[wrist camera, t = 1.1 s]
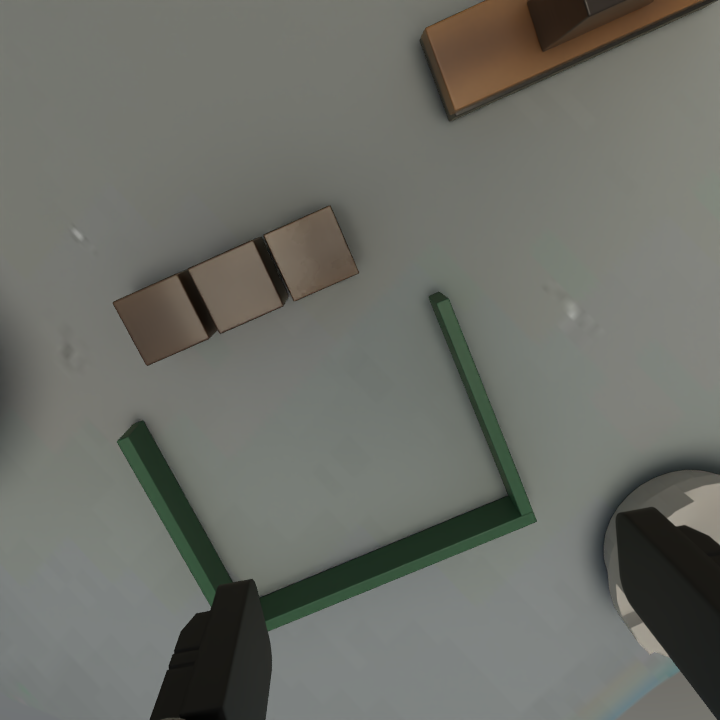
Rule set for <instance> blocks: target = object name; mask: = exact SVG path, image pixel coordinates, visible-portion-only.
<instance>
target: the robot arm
mask: <svg viewBox="0 0 720 720" xmlns="http://www.w3.org/2000/svg"><path fill="white" fill-rule="evenodd" d="M615 523H616V537H617V549H618V562H619V574H620V581H621V585H622V588H623V591H624V594H625V596H626V598H627V600H628V602H629V604H630V605H631V607H632V608H633V609H634V611H635V612H636V613H637V615H638V616H639V617H640V619H641V620H642V621H643V622H644V624H645V625H646V626H647V628H648V629H649V630H650V632H651V633H652V634H653V636H654V637H655V638H656V640H657V641H658V642H659V644H660V645H661V646H662V647H663V649H664V650H665V651H666V653H667V654H668V655H669V657H670V658H671V659H672V661H673V662H674V663H675V665H676V666H677V667H678V669H679V670H680V671H681V672H682V673H683V675H684V676H685V678H686V679H687V680H688V682H689V683H690V684H691V685H692V687H693V688H694V690H695V691H696V692H697V694H698V695H699V696H700V697H701V699H702V700H703V701H704V703H705V704H706V705H707V707H708V708H709V709H710V711H711V712H712V713H713V714H714V716H715V717H716V718H717V720H720V545H719V544H718V543H717V542H716V541H715V540H713V539H712V538H711V537H710V536H709V535H706V534H704V533H702V532H700V531H697V530H695V529H693V528H691V527H688V526H686V525H681V526H675V525H674V524H673V523H672V522H671V521H669V520H668V519H667V518H666V517H665V516H664V515H663V514H662V513H661V512H660V511H658V510H657V509H656V508H654V507H647V508H642V509H636V510H631V511H625V512H620V513H618V514H617V515H616V521H615ZM271 672H272V654H271V645H270V639H269V635H268V631H267V627H266V623H265V619H264V615H263V611H262V607H261V603H260V599H259V595H258V591H257V587H256V584H255V582H254V580H253V579H249V580H244V581H238V582H233V583H227V584H222V585H219V586H218V587H217V590H216V593H215V596H214V600H213V603H212V607H211V610H210V611H207V612H202V613H196V614H195V616H194V617H193V618H192V619H191V620H190V621H189V623H188V624H187V625H186V626H185V627H184V629H183V630H182V631H181V633H180V636H179V638H178V641H177V644H176V647H175V650H174V654H173V655H172V658H171V661H170V664H169V670H167V672H166V675H165V678H164V681H163V683H162V686H161V689H160V692H159V695H158V698H157V700H156V703H155V706H154V709H153V712H152V714H151V717H150V720H265V719H266V711H267V703H268V696H269V688H270V680H271Z"/></svg>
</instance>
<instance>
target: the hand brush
mask: <svg viewBox="0 0 720 720" xmlns="http://www.w3.org/2000/svg"><path fill="white" fill-rule="evenodd" d="M716 1H718V0H485V1H483V2H481V3H479V4H477V5H474V6H472V7H470V8H468V9H466V10H463V11H461V12H459V13H457V14H455V15H453V16H450V17H448V18H446V19H444V20H442V21H439V22H437V23H435V24H433V25H431V26H429V27H426V28H425V30H424V32H423V34H422V36H421V39H420V43H421V46H422V49H423V51H424V54H425V57H426V59H427V62H428V65H429V68H430V70H431V73H432V76H433V78H434V81H435V84H436V87H437V89H438V92H439V95H440V97H441V100H442V103H443V106H444V108H445V111H446V114H447V116H448V119H449V121H453V120H455V119H457V118H460V117H462V116H464V115H466V114H469V113H471V112H473V111H475V110H477V109H480V108H482V107H484V106H486V105H489V104H491V103H493V102H495V101H498V100H500V99H502V98H504V97H506V96H509V95H511V94H513V93H515V92H518V91H520V90H522V89H524V88H527V87H529V86H531V85H533V84H535V83H538V82H540V81H542V80H544V79H547V78H549V77H551V76H553V75H555V74H558V73H560V72H562V71H564V70H567V69H569V68H571V67H573V66H576V65H578V64H580V63H582V62H584V61H587V60H589V59H591V58H593V57H596V56H598V55H600V54H602V53H605V52H607V51H609V50H611V49H613V48H616V47H618V46H620V45H622V44H625V43H627V42H629V41H631V40H633V39H636V38H638V37H640V36H642V35H645V34H647V33H649V32H651V31H654V30H656V29H658V28H660V27H662V26H665V25H667V24H669V23H671V22H674V21H676V20H678V19H680V18H683V17H685V16H687V15H689V14H691V13H694V12H696V11H698V10H700V9H703V8H705V7H707V6H708V5H710V4H712V3H714V2H716Z"/></svg>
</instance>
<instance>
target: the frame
mask: <svg viewBox="0 0 720 720" xmlns="http://www.w3.org/2000/svg"><path fill="white" fill-rule="evenodd" d="M429 300H430V302H431V305H432V307H433V310H434V312H435V315H436V317H437V320H438V322H439V325H440V327H441V330H442V332H443V334H444V337H445V339H446V342H447V344H448V347H449V349H450V352H451V354H452V357H453V359H454V362H455V364H456V367H457V369H458V372H459V374H460V377H461V379H462V381H463V384H464V386H465V389H466V391H467V394H468V396H469V399H470V401H471V404H472V406H473V409H474V411H475V414H476V416H477V419H478V421H479V424H480V426H481V428H482V431H483V433H484V436H485V438H486V441H487V443H488V446H489V448H490V451H491V453H492V456H493V458H494V461H495V463H496V466H497V468H498V470H499V473H500V475H501V478H502V480H503V483H504V485H505V488H506V490H507V493H508V495H509V496H507V497H504V498H502V499H499V500H497V501H495V502H492V503H490V504H487V505H485V506H482V507H480V508H478V509H475V510H473V511H470V512H468V513H465V514H463V515H461V516H458V517H456V518H453V519H451V520H448V521H446V522H444V523H441V524H439V525H436V526H434V527H431V528H429V529H427V530H424V531H422V532H419V533H417V534H414V535H412V536H410V537H407V538H405V539H402V540H400V541H397V542H395V543H393V544H390V545H388V546H385V547H383V548H380V549H378V550H376V551H373V552H371V553H368V554H366V555H363V556H361V557H359V558H356V559H354V560H351V561H349V562H346V563H344V564H342V565H339V566H337V567H334V568H332V569H329V570H327V571H324V572H322V573H320V574H317V575H315V576H312V577H310V578H307V579H305V580H303V581H300V582H298V583H295V584H293V585H290V586H288V587H286V588H283V589H281V590H278V591H276V592H273V593H271V594H269V595H266V596H264V597H261V598H259V599H260V603H261V607H262V611H263V615H264V619H265V623H266V627H267V631H270V630H273V629H275V628H277V627H280V626H282V625H285V624H287V623H290V622H292V621H295V620H297V619H300V618H302V617H304V616H307V615H309V614H312V613H314V612H317V611H319V610H322V609H324V608H327V607H329V606H331V605H334V604H336V603H339V602H341V601H344V600H346V599H349V598H351V597H353V596H356V595H358V594H361V593H363V592H366V591H368V590H371V589H373V588H376V587H378V586H380V585H383V584H385V583H388V582H390V581H393V580H395V579H398V578H400V577H402V576H405V575H407V574H410V573H412V572H415V571H417V570H420V569H422V568H425V567H427V566H429V565H432V564H434V563H437V562H439V561H442V560H444V559H447V558H449V557H452V556H454V555H456V554H459V553H461V552H464V551H466V550H469V549H471V548H474V547H476V546H478V545H481V544H483V543H486V542H488V541H491V540H493V539H496V538H498V537H501V536H503V535H505V534H508V533H510V532H513V531H515V530H518V529H520V528H523V527H525V526H528V525H530V524H532V523H535V522H537V520H536V518H535V515H534V513H533V510H532V507H531V505H530V502H529V500H528V497H527V495H526V492H525V490H524V487H523V485H522V482H521V480H520V477H519V475H518V472H517V470H516V467H515V464H514V462H513V459H512V457H511V454H510V452H509V449H508V447H507V444H506V442H505V439H504V437H503V434H502V432H501V429H500V427H499V424H498V422H497V419H496V417H495V414H494V411H493V409H492V406H491V404H490V401H489V399H488V396H487V394H486V391H485V389H484V386H483V384H482V381H481V379H480V376H479V374H478V371H477V369H476V366H475V363H474V361H473V358H472V356H471V353H470V351H469V348H468V346H467V343H466V341H465V338H464V336H463V333H462V331H461V328H460V326H459V323H458V321H457V318H456V316H455V313H454V310H453V308H452V305H451V303H450V300H449V298H447V297H446V296H445V295H443V294H442V293H441V292H438V293H435V294H433V295H431V296H429ZM117 443H118V445H119V447H120V448H121V450H122V452H123V454H124V455H125V457H126V459H127V461H128V462H129V464H130V466H131V468H132V469H133V471H134V473H135V475H136V476H137V478H138V480H139V482H140V483H141V485H142V487H143V489H144V490H145V492H146V494H147V496H148V497H149V499H150V501H151V503H152V504H153V506H154V508H155V510H156V511H157V513H158V515H159V517H160V518H161V520H162V522H163V524H164V525H165V527H166V529H167V531H168V532H169V534H170V536H171V538H172V539H173V541H174V543H175V545H176V546H177V548H178V550H179V552H180V553H181V555H182V557H183V559H184V560H185V562H186V564H187V566H188V567H189V569H190V571H191V573H192V574H193V576H194V578H195V580H196V581H197V583H198V585H199V587H200V588H201V590H202V592H203V594H204V595H205V597H206V599H207V601H208V602H209V604H210V606H211V607H212V603H213V600H214V596H215V593H216V590H217V587H218V586H219V585H222V584H227V583H233V582H232V580H231V579H230V577H229V575H228V573H227V571H226V570H225V568H224V566H223V564H222V562H221V561H220V559H219V557H218V555H217V553H216V552H215V550H214V548H213V546H212V544H211V542H210V541H209V539H208V537H207V535H206V533H205V532H204V530H203V528H202V526H201V524H200V523H199V521H198V519H197V517H196V515H195V514H194V512H193V510H192V508H191V506H190V505H189V503H188V501H187V499H186V497H185V496H184V494H183V492H182V490H181V488H180V487H179V485H178V483H177V481H176V479H175V477H174V476H173V474H172V472H171V470H170V468H169V467H168V465H167V463H166V461H165V459H164V458H163V456H162V454H161V452H160V450H159V449H158V447H157V445H156V443H155V441H154V440H153V438H152V436H151V434H150V432H149V431H148V429H147V427H146V425H145V423H144V422H143V421H140V422H138V423H135V424H133V425H132V426H131V427H130V428H129V429H128V430H127V431H126V432H125V433H124V434H123V435H122V437H121V438H120V439H119V440H118V441H117Z"/></svg>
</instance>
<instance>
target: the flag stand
mask: <svg viewBox="0 0 720 720" xmlns="http://www.w3.org/2000/svg"><path fill="white" fill-rule="evenodd" d="M647 507H654V508H656V509H657V510H658V511H660V512H661V513H662V514H663V515H664V516H665V517H666V518H667V519H668V520H669V521H671V522H672V523H673V524H674V525H675V526H681V525H686V526H688V527H691V528H693V529H695V530H697V531H700V532H702V533H704V534H706V535H709V536H710V537H711V538H712V539H713V540H715V541H716V542H717V543H718V544H719V545H720V475H717V474H714V473H710V472H706V471H701V470H681V471H675V472H669V473H667V474H664V475H661V476H658V477H655V478H653V479H651V480H650V481H648V482H646V483H644V484H642V485H641V486H639V487H638V488H637V489H636V490H634V491H633V492H632V493H631V494H630V495H628V496H627V498H626V499H625V500H624V501H623V502H622V503H621V504H620V506H619V507H618V508H617V510H616V512H615V513H614V515H613V517H612V518H611V520H610V523H609V525H608V528H607V531H606V534H605V540H604V547H603V548H604V561H605V564H606V568H607V571H608V581H609V591H610V594H611V598H612V601H613V604H614V606H615V608H616V610H617V612H618V613H619V615H620V617H621V618H622V620H623V621H624V623H625V624H626V626H627V627H628V628H629V630H630V631H631V633H632V634H633V635H634V637H635V638H636V640H637V641H638V642H639V644H640V645H641V646H642V647H643V648H644V649H645V650H646V651H647V652H648V653H649V654H650V655H651V654H652V653H653V652H654V651H655V652H657V653H660V654H662V655H665V656H667V657H669V655H668V654H667V653H666V651H665V650H664V649H663V647H662V646H661V645H660V644H659V642H658V641H657V640H656V638H655V637H654V636H653V634H652V633H651V632H650V630H649V629H648V628H647V626H646V625H645V624H644V622H643V621H642V620H641V619H640V617H639V616H638V615H637V613H636V612H635V611H634V609H633V608H632V607H631V605H630V604H629V602H628V600H627V598H626V596H625V594H624V591H623V588H622V585H621V581H620V574H619V562H618V549H617V537H616V523H615V521H616V515H617V514H618V513H620V512H625V511H631V510H636V509H642V508H647Z"/></svg>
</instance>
